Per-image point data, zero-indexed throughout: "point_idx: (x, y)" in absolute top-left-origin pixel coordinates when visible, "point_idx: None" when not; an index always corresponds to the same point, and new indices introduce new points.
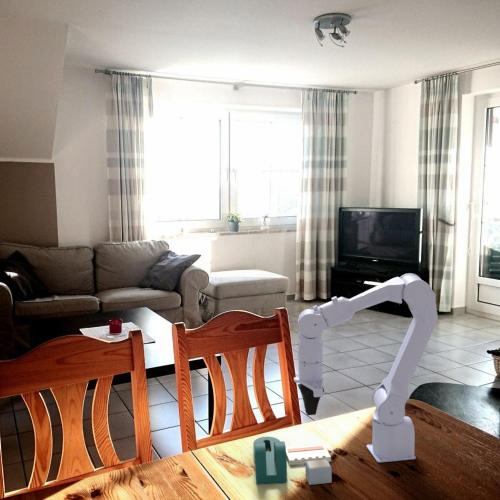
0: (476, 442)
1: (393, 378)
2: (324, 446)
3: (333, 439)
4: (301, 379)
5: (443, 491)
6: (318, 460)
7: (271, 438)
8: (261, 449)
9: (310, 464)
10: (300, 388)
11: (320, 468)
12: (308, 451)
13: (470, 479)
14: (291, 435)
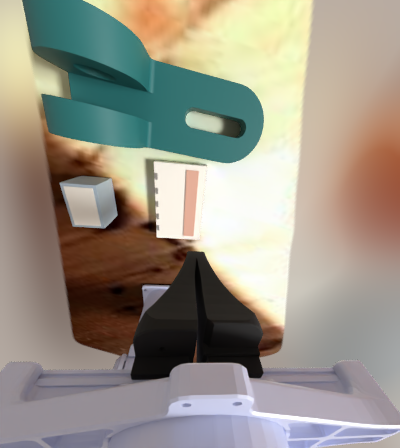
0: None
1: None
2: (192, 238)
3: (223, 256)
4: (157, 432)
5: (77, 315)
6: (97, 211)
7: (247, 146)
8: (35, 24)
9: (78, 191)
10: (173, 330)
11: (66, 205)
12: (181, 208)
13: (102, 338)
14: (265, 199)
